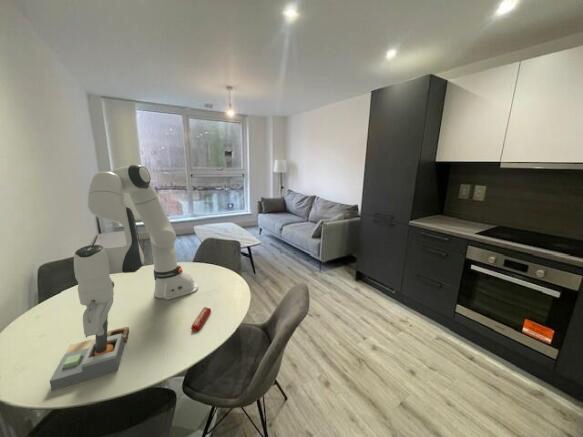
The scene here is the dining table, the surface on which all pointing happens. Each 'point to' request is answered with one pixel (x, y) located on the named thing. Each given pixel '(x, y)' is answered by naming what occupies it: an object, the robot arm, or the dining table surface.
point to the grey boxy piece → (89, 364)
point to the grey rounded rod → (101, 340)
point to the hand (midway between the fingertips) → (102, 330)
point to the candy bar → (200, 319)
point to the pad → (79, 346)
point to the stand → (118, 331)
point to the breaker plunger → (109, 349)
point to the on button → (73, 361)
